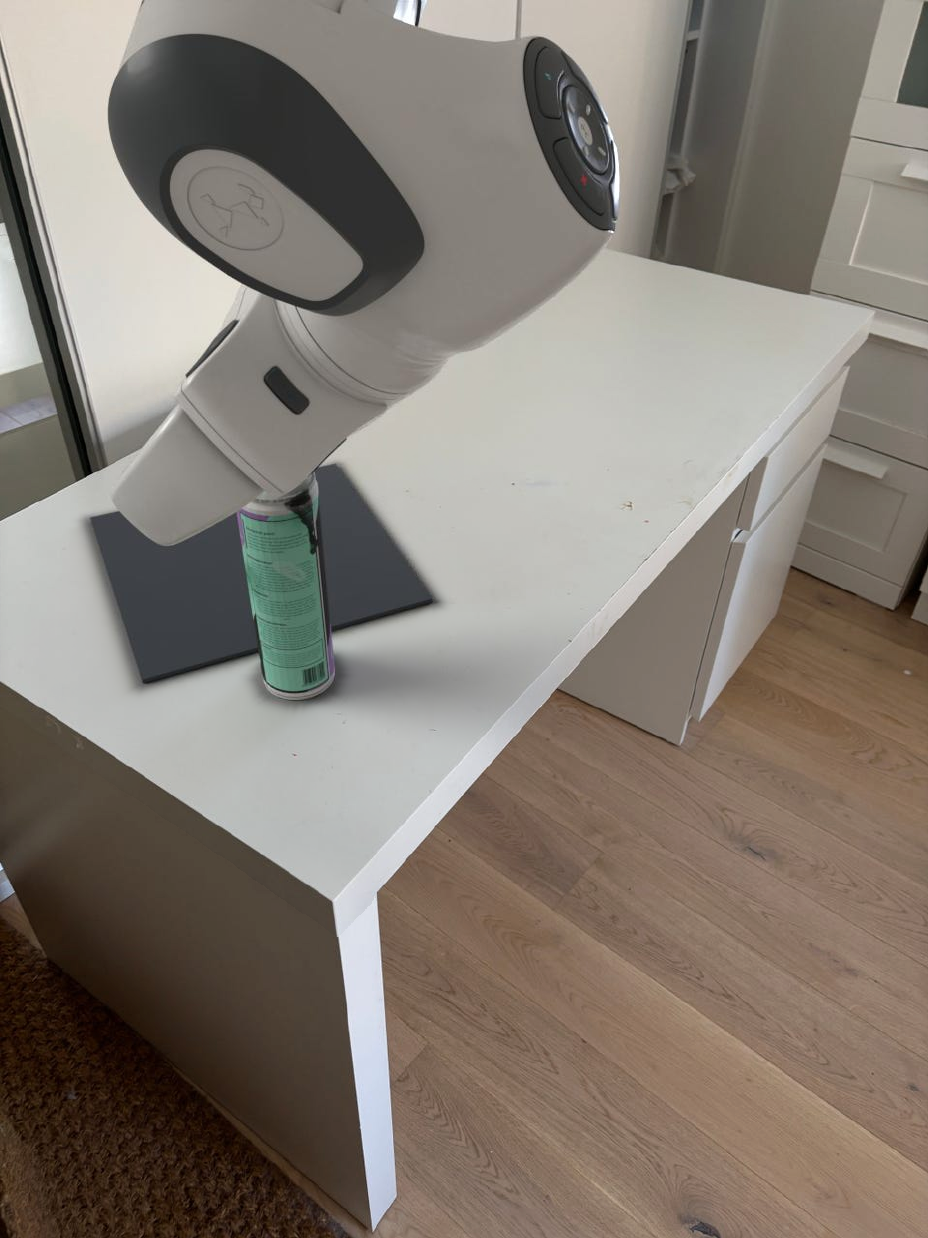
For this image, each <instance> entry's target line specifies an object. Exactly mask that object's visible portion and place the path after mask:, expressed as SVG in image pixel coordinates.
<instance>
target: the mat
mask: <svg viewBox="0 0 928 1238" xmlns="http://www.w3.org/2000/svg"><path fill="white" fill-rule="evenodd" d="M314 472H315V478H316V481H317V483H318V492H319V503H320V514H321V525H322V536H323V547H324V558H325V569H326V579H327V590H328V601H329V612H330V623H331V631H334V630H338V629H342V628H346V627H349V626H352V625H356V624H360V623H363V622H366V621H371V620H374V619H377V618H380V617H384V616H388V615H391V614H396V613H399V612H402V611H406V610H409V609H413V608H416V607H419V606H424V605H427V604H431V603H433V597H432V596H431V594H430V593H429V592H428V590H427V589H426V587H425V586H424V585H423V583H422V582H421V580H420V579H419V578H418V577H417V575H416V573H415V572H414V571H413V569H412V568H411V567H410V565H409V564H408V562H407V560H405V558H404V557H403V555H402V554H401V552H400V551H399V550H398V548H397V547H396V546H395V544H394V542H392V540H391V539H390V537H389V536H388V535H387V533H386V531H384V529H383V528H382V526H381V525H380V523H379V522H378V520H377V519H376V517H375V516H374V515H373V514H372V511H370V509H369V508H368V507H367V505H366V504H365V502H364V501H363V500H362V499H361V497H360V496H359V494H358V493H357V491H356V490H355V488H354V487H353V486H352V484H351V483H350V482H349V480H348V479H347V477H346V476H345V474H343V472H342V471H341V469H340V468H339V466H338V465H337V463H332V464H327V465H322V466H319V467H318V468H317V469H316V470H315V471H314ZM89 519H90V522H91V525H92V529H93V532H94V535H95V538H96V541H97V544H98V547H99V550H100V554H101V558H102V560H103V563H104V567H105V570H106V572H107V575H108V578H109V583H110V585H111V588H112V591H113V595H114V598H115V600H116V605H117V606H118V610H119V613H120V616H121V619H122V622H123V626H124V629H125V632H126V635H127V639H128V641H129V644H130V648H131V650H132V651H131V652H132V653H133V657H134V660H135V664H136V665H137V669H138V672H139V676H140V679H141V682H142V684H146V683H150V682H154V681H157V680H160V679H163V678H167V677H168V678H169V677H171V676H174V675H178V674H183V673H185V672H189V671H192V670H196V669H199V668H203V667H207V666H209V665H214V664H218V663H221V662H224V661H227V660H232V659H235V658H239V657H242V656H246V655H249V654H252V653H257V652H259V651H258V645H257V639H256V632H255V626H254V620H253V613H252V607H251V601H250V594H249V588H248V582H247V575H246V569H245V563H244V556H243V550H242V544H241V537H240V531H239V525H238V518H237V512H236V513H234V514H232V515H231V516H229V517H227V518H225V519H224V520H222V521H220V522H218V523H216V524H215V525H213V526H211V527H209V528H207V529H205V530H204V531H202V532H200V533H198V534H196V535H194V536H192V537H190V538H188V539H186V540H184V541H182V542H180V543H178V544H175V545H171V546H162V545H159V544H157V543H155V542H154V541H152V540H151V539H149V538H148V537H147V536H145V535H144V534H143V533H142V532H141V531H140V530H138V529H137V528H136V527H135V526H134V525H133V524H132V523H131V522H130V521H129V520H128V519H126V518H125V517H124V516H123V515H122V514H121V512H120V511H119V510H117V511H112V512H108V513H105V514H104V513H103V514H99V515H94V516H91V517H89Z"/></svg>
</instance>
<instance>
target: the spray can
mask: <svg viewBox="0 0 928 1238" xmlns="http://www.w3.org/2000/svg"><path fill="white" fill-rule="evenodd" d="M237 518H238V525H239V531H240V537H241V544H242V550H243V556H244V563H245V569H246V575H247V582H248V588H249V594H250V601H251V607H252V613H253V620H254V626H255V632H256V639H257V645H258V651H257V652H258V658H259V665H260V671H261V676H262V682H263V684H264V686H265V688H266V690H267V691H268V692H270V694H272V695H273V696H275V697H278V698H280V699H284V700H288V701H289V700H290V701H301V700H307V699H311V698H314V697H316V696H319V695H320V694H322V693H324V692H325V691H326V690H327V689H329V687H330V686H331V685H332V684H333V681H334V679H335V675H336V673H335V672H336V671H335V670H336V669H335V657H334V646H333V645H334V644H333V636H332V630H331V623H330V612H329V601H328V590H327V579H326V569H325V558H324V547H323V536H322V525H321V514H320V503H319V492H318V483H317V481H316V478H315V472H313V473H312V474H311V475H310V476H308V477H307V478H306V479H305V480H304V481H303V482H302V483H301V484H300V485H299V486H298V487H296V488H295V489H294V490H292V491H291V492H289V493H287V494H286V495H284V496H282V497H279V498H274V497H273V496H271V495H270V494H269V493H268V492H266V491H264V492H263V493H262V494H260V495H259V496H258V497H257V498H255V499H254V500H253V501H251V502H250V503H249V504H247V505H246V506H245V507H243V508H242V509H240V510H239V511H237Z"/></svg>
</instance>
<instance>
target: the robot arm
mask: <svg viewBox="0 0 928 1238" xmlns="http://www.w3.org/2000/svg"><path fill="white" fill-rule="evenodd" d="M427 1H428V0H142V1H141V3H140V6H139V9H138V11H137V13H136V17H135V20H134V22H133V26H132V29H131V32H130V35H129V38H128V41H127V43H126V46H125V49H124V52H123V55H122V59H121V61H120V64H119V66H118V71H117V74H116V76H115V77H114V80H113V82H112V85H111V88H110V91H109V96H108V101H107V103H108V104H107V124H108V132H109V138H110V141H111V145H112V149H113V151H114V154H115V156H116V159H117V162H118V164H119V166H120V168H121V170H122V172H123V174H124V176H125V177H126V180H127V181H128V183H129V186H130V187H131V189H132V190H133V192H134V193H135V194H136V196H137V198H138V199H139V200H140V202H141V203H142V205H143V206H144V207H145V208H146V210H147V211H148V212H149V213H150V215H151V216H153V217H154V219H155V220H156V221H157V222H158V223H159V224H160V225H161V226H162V227H163V228H164V229H165V230H166V231H167V232H168V233H169V234H170V235H172V237H174V238H175V239H176V240H178V241H179V242H180V243H181V244H183V245H184V246H185V247H186V248H187V249H189V250H190V251H192V252H193V253H195V255H197V256H198V257H200V258H201V259H203V260H204V261H206V262H207V263H208V264H210V265H212V266H213V267H215V268H216V269H218V270H219V271H220V272H222V273H224V274H225V275H227V276H228V277H230V278H232V279H233V280H235V281H236V282H238V283H240V286H239V288H238V290H237V293H236V296H235V299H234V301H233V303H232V304H231V306H230V308H229V310H228V312H227V313H226V316H225V318H224V320H223V321H222V322H223V323H222V324H221V327H220V329H219V330H218V333H217V335H216V336H215V337H214V338H213V339H212V341H211V342H210V344H209V345H208V346H207V348H206V349H205V351H204V352H203V353H202V355H201V356H200V357H199V358H198V360H197V361H196V362H195V363H194V365H193V366H192V367H191V368H190V369H189V370H188V371H187V372H186V373H185V374H184V375H185V378H184V379H183V380H182V381H181V382H179V384H178V385H177V386H176V387H175V388H174V391H173V395H172V396H173V399H174V400H175V401H176V403H177V404H176V405H175V407H174V408H173V409H172V410H171V412H170V413H169V414H168V415H167V417H165V419H164V420H163V422H162V423H161V424H160V425H159V427H158V428H157V429H156V430H155V432H154V433H153V434H152V435H151V437H150V438H148V440H147V441H146V442H145V444H144V445H143V447H141V449H140V450H139V452H137V454H135V456H134V457H133V458H132V460H131V461H130V463H128V464H127V466H126V467H125V468H124V470H123V471H122V473H121V474H120V476H119V477H118V478H117V479H116V481H115V483H114V484H113V486H112V488H111V491H110V499H111V502H112V503H113V505H114V507H115V508H116V509H117V511H120V512H121V514H122V515H123V516H124V517H125V518H126V519H128V520H129V521H130V522H131V523H132V524H133V525H134V526H135V527H136V528H137V529H138V530H140V531H141V532H142V533H143V534H144V535H145V536H147V537H148V538H149V539H151V540H152V541H154V542H155V543H157V544H159V545H162V546H171V545H175V544H178V543H180V542H182V541H184V540H186V539H188V538H190V537H192V536H194V535H196V534H198V533H200V532H202V531H204V530H205V529H207V528H209V527H211V526H213V525H215V524H216V523H218V522H220V521H222V520H224V519H225V518H227V517H229V516H231V515H232V514H234V513H236V512H237V511H239V510H240V509H242V508H243V507H245V506H246V505H247V504H249V503H250V502H251V501H253V500H254V499H255V498H257V497H258V496H259V495H260V494H262V493H263V492H264V491H266V492H268V493H269V494H270V495H271V496H273V497H274V498H279V497H282V496H284V495H286V494H287V493H289V492H291V491H292V490H294V489H295V488H296V487H298V486H299V485H300V484H301V483H302V482H303V481H304V480H305V479H306V478H307V477H308V476H310V475H311V474H312V473H313V472H314V471H315V470H316V469H317V468H318V467H321V465H322V464H323V463H324V462H325V461H326V460H327V459H328V458H329V457H330V456H332V455H333V453H334V452H335V451H337V450H338V449H339V447H341V446H342V445H343V444H344V443H345V442H347V440H348V438H349V437H351V436H353V435H355V434H357V433H358V432H361V431H362V430H364V429H365V428H367V427H368V426H370V425H372V424H373V423H374V422H376V421H377V420H378V419H380V418H381V417H383V416H384V415H385V414H387V412H388V411H389V410H390V409H392V408H393V407H395V406H396V405H398V404H399V403H401V402H402V401H404V400H405V399H408V397H410V396H412V395H413V394H415V393H417V392H418V391H419V390H421V389H422V388H424V387H426V386H427V385H428V384H429V383H430V382H432V381H433V380H435V378H436V377H437V376H438V375H439V374H440V372H441V371H442V370H443V369H444V368H445V366H446V364H447V363H448V362H449V360H450V359H452V358H453V357H455V356H456V355H460V354H464V353H468V352H472V351H476V350H478V349H481V348H483V347H485V346H487V345H489V344H490V343H492V342H493V341H495V340H497V339H498V338H500V337H501V336H503V335H505V334H506V333H507V332H509V331H510V330H512V329H513V328H515V327H516V326H518V325H519V324H521V323H522V322H523V321H525V320H526V319H528V318H529V317H531V316H532V315H533V314H534V313H536V312H537V311H538V310H540V309H542V308H543V307H544V306H545V305H546V304H548V303H549V302H550V301H552V300H553V299H554V298H556V297H557V296H558V295H559V294H560V293H562V291H564V290H565V289H567V287H568V286H570V284H572V283H573V282H574V281H575V280H576V279H577V278H578V277H580V275H582V273H584V271H585V270H586V269H587V268H589V266H591V264H592V263H593V262H594V261H595V260H596V259H597V258H598V256H599V255H600V254H601V253H602V251H604V249H605V248H606V247H607V245H608V244H609V242H610V240H611V239H612V237H613V235H614V233H615V231H616V224H617V220H618V216H619V209H620V165H619V156H618V149H617V145H616V144H615V140H614V136H613V134H612V131H611V128H610V126H609V118H608V117H607V115H606V112H605V110H604V107H603V105H602V103H601V100H600V99H599V96H598V95H597V92H596V91H595V89H594V87H593V86H592V84H591V82H590V80H589V79H588V77H587V76H586V74H585V73H584V72H583V70H582V68H581V67H580V66H579V65H578V64H577V62H576V61H575V60H574V59H573V58H572V57H571V55H569V54H568V53H566V52H565V50H564V49H563V48H562V47H561V46H559V45H558V44H556V43H555V42H554V41H552V40H550V39H548V38H547V37H544V36H541V35H528V36H523V37H520V38H519V37H518V38H513V39H509V40H499V41H498V40H497V41H492V40H483V39H482V40H481V39H474V38H469V37H462V36H455V35H451V34H446V33H441V32H438V31H434V30H430V29H427V28H424V27H420V23H421V20H422V17H423V14H424V10H425V7H426V5H427Z"/></svg>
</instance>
